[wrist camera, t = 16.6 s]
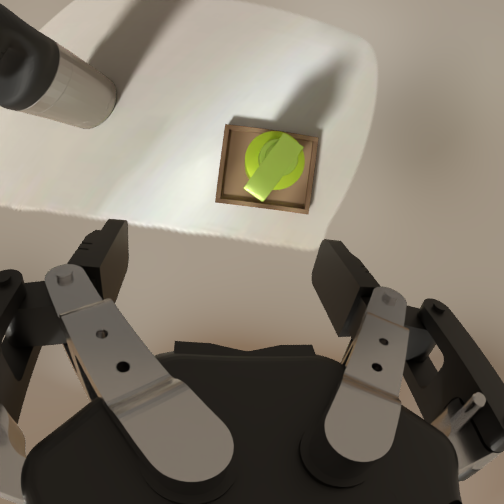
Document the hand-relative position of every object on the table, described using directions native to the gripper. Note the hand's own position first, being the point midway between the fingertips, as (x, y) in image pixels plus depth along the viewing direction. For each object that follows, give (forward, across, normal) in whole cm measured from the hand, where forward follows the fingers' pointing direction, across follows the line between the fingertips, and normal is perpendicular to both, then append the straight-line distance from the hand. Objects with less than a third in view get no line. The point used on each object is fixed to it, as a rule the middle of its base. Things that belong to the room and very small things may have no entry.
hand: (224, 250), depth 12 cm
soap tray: (+32, -8, +4) cm, 33 cm away
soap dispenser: (+31, -8, +3) cm, 32 cm away
